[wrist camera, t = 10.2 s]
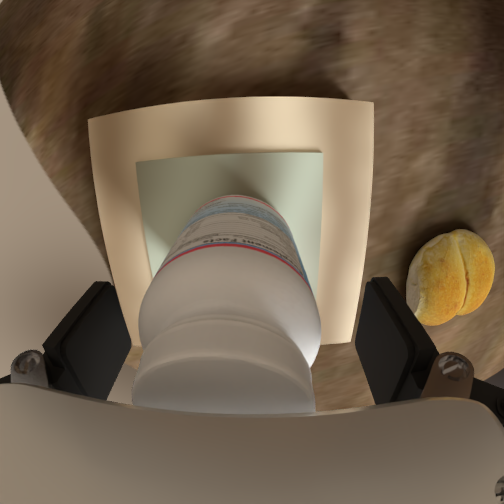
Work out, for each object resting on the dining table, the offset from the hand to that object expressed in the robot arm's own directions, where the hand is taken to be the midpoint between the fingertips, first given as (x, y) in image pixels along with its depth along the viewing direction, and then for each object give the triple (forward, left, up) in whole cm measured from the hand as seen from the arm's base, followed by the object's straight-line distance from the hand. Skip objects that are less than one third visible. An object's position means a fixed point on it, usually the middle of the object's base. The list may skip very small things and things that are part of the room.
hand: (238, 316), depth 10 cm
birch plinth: (+1, 0, -10) cm, 10 cm away
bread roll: (-17, +5, -11) cm, 21 cm away
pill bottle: (0, 0, -7) cm, 7 cm away
